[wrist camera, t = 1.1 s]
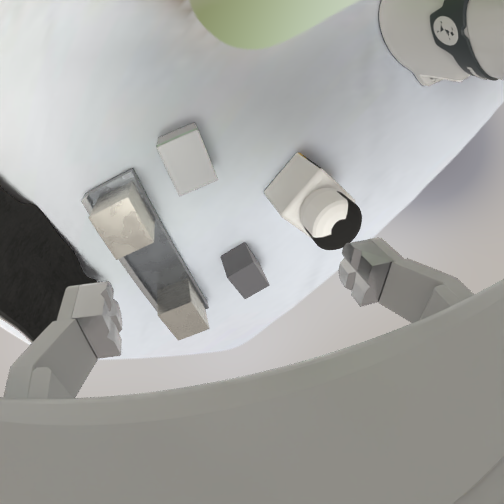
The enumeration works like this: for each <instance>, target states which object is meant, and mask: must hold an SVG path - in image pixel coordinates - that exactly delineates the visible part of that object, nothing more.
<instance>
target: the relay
mask: <svg viewBox="0 0 504 504" xmlns="http://www.w3.org/2000/svg"><path fill="white" fill-rule="evenodd" d="M221 259H222V262H223V266H224V269H225V272H226V275H227V278H228V279H229V281H230V282H231V283H232V284H233V285H234V287H235V288H236V289H237V290H238V291H239V293H240V294H241V295H242V296H243V298H244V299H246V298H248V297H250V296H252V295H253V294H255V293H257V292H259V291H260V290H262V289H264V288H266V287H267V286H269V283H268V281H267V278H266V276H265V274H264V272H263V270H262V268H261V266H260V264H259V262H258V261H257V259H256V258H255V256H254V255H253V253H252V252H251V250H250V249H249V247H248V246H247V245H246V243H245V242H244V243H242V244H240V245H239V246H237V247H235V248H234V249H232V250H230V251H229V252H227V253H225V254H224V255H222V256H221Z"/></svg>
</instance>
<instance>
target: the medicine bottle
mask: <svg viewBox="0 0 504 504" xmlns="http://www.w3.org/2000/svg"><path fill="white" fill-rule="evenodd" d="M264 194H265V195H266V197H267V198H268V199H269V201H270V202H271V203H272V205H273V206H274V207H275V209H276V210H277V211H278V213H279V214H280V215H281V217H282V218H284V219H285V220H287V221H288V222H290V223H291V224H292V225H294V226H295V227H297V228H298V229H299V230H301V231H302V232H304V233H305V234H306V235H308V236H309V237H311V238H312V239H313V240H314V242H315V243H316V244H317V245H318V246H319V247H320V248H322V249H325V250H336V249H340V248H342V247H344V245H345V244H346V243H350V242H351V241H352V240H353V239H354V238H355V237H356V235H357V234H358V232H359V230H360V227H361V222H362V215H361V211H360V209H359V207H358V206H357V205H356V204H355V200H354V199H353V198H352V197H351V196H350V195H349V194H348V193H347V192H346V191H345V190H344V189H343V188H342V187H341V186H340V185H339V184H338V183H337V182H336V181H335V180H334V179H333V178H332V177H331V176H330V175H329V174H327V173H326V172H325V171H324V170H323V169H322V168H321V167H319V166H318V165H316V164H315V163H314V162H312V161H311V160H309V159H308V158H306V157H305V156H303V155H302V154H301V153H296V154H295V155H294V156H293V158H292V159H291V160H290V161H289V162H288V163H287V165H286V166H285V167H284V168H283V169H282V171H281V172H280V173H279V174H278V175H277V177H276V178H275V179H274V180H273V181H272V183H271V184H270V185H269V186H268V187H267V189H266V190H265V191H264Z"/></svg>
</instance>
